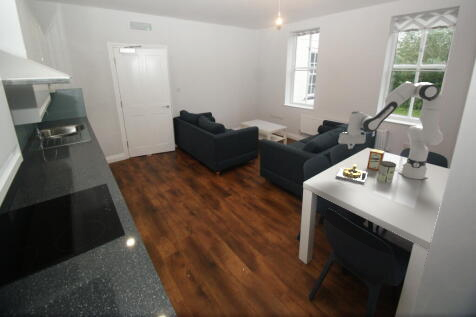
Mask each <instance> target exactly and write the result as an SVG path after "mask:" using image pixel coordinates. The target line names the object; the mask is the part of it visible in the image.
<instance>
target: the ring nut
mask: <svg viewBox="0 0 476 317" xmlns="http://www.w3.org/2000/svg"><path fill="white" fill-rule="evenodd" d="M357 166H358V164H356V163H354V164H353V166H352V167H344V168H345V169H344V170H343V173H344V174H345V175H348V176H351V177H360V176H361V175H362V171H363V170H360V169H358V168H357ZM350 169H354V170H356V173H353V172H349V170H350Z"/></svg>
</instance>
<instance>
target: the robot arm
mask: <svg viewBox="0 0 476 317" xmlns="http://www.w3.org/2000/svg"><path fill="white" fill-rule="evenodd" d="M411 97H413V98H416V99H421V100H422V106H421V108H420V113H419V118H418V119H419V121H420V123H421V125H410V126H409V128H407V130H406V135H407V137H408V138H409V142H410V148H409V154H408V157H407V158H406V162H405V163H402V167H401V168H400V169H399V170H398V174H399V175H402V176H404V177H405V178H409V179H414V180H422V179H428V178H429V177H428V175H427V170H428V167H427V166H426V165H427V161H428V160H427V159H428V155H429V148H428V147H427V145H431V146H437V145H439V144H440V143H441V142H443V139H444V134H443V132H442V131H441V130H440V125H439V120H440V116H441V111H442V108H443V104H444V95H443V94H442V93H441V92H440V90H439V87H438V86H437V84H435V83H433V82H432V83H431V82H426V81H425V82H424V81H423V82H421V81H419V82H415V83H413V82H411V81H405V82H404V83H401V84H399V86H397V87H395V88H394V89H393V90H392V91H391V92H390V93H388V95H387V96H386V97H385V100H384V102H385V103H384V104H385V105H384V107H383V108H382V109H381V110H380V111H379V112H378V113H376V115H375V116H371V115H369V114H366V113H364V112H363V111H361V110H356V111H352V112H351V113H350V115H349V118H348V126H347V129H346V131H343V132H340V133H339V135H338V136H339V138H338V140H337V141H338V144H340V145H344V144H345V145H347V148H348V149H349V150H351V149H352V150H353V148H354V146H355V145H357V144H360V145H361V144H365V143H366V138H367V136H366V134H367V133H373V132H376V131H377V130H378V129H379V127H380V126H381V125H382V123H383V122H384V121H385V120H386V119H387V118H388V117H389V116H390V115H392V113H394V112H395V111H396V110H397V109H398V108H399V107H400V105H403V103H405V102H406V101H408V99H410V98H411ZM361 128H363V129H364V130H362V129H361ZM365 131H366V132H367V133H366V132H365Z"/></svg>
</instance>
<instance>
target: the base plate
mask: <svg viewBox="0 0 476 317" xmlns="http://www.w3.org/2000/svg"><path fill="white" fill-rule="evenodd" d="M345 168H346V167H343V166H341V167H340V169H339V170H338V172H337V174H336V175H335V179H338V180H344V181H349V182H353V183H357V184H362V185H364V184H365V183H366V181H367V180H366V179H367V176H368V175H369V172H368V171H365V170H364V171H363V170H361V171H362V175H361V176H360V177H351V176H348V175H345V174H344V173H343V170H344V169H345ZM349 172H353V173H356V170H354V169H350V170H349Z"/></svg>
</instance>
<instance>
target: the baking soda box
mask: <svg viewBox="0 0 476 317" xmlns="http://www.w3.org/2000/svg"><path fill="white" fill-rule="evenodd" d="M384 157H385V151H384V150H379V149H376V148H375V149H374V148H371V150H370V151H369V156H368V161H367V165H366V169H369V170H374V171H377V172H378V171H379V166H380V162H381V161H384Z"/></svg>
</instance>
